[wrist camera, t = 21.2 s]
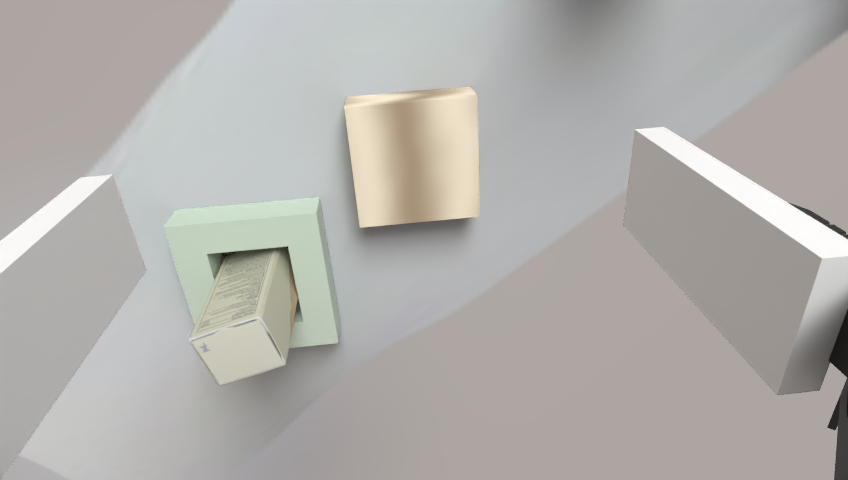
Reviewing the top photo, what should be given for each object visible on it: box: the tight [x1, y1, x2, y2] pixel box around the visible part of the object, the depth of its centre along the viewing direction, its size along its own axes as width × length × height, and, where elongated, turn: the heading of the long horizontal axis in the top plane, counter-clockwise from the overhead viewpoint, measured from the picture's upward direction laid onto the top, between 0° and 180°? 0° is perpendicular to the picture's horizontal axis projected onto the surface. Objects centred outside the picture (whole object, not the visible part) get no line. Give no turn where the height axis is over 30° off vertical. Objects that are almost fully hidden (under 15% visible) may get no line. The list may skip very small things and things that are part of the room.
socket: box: [163, 197, 340, 348], centre depth 44 cm, size 11×12×3 cm
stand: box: [344, 87, 480, 228], centre depth 40 cm, size 9×9×3 cm
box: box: [189, 247, 298, 386], centre depth 40 cm, size 5×4×11 cm
